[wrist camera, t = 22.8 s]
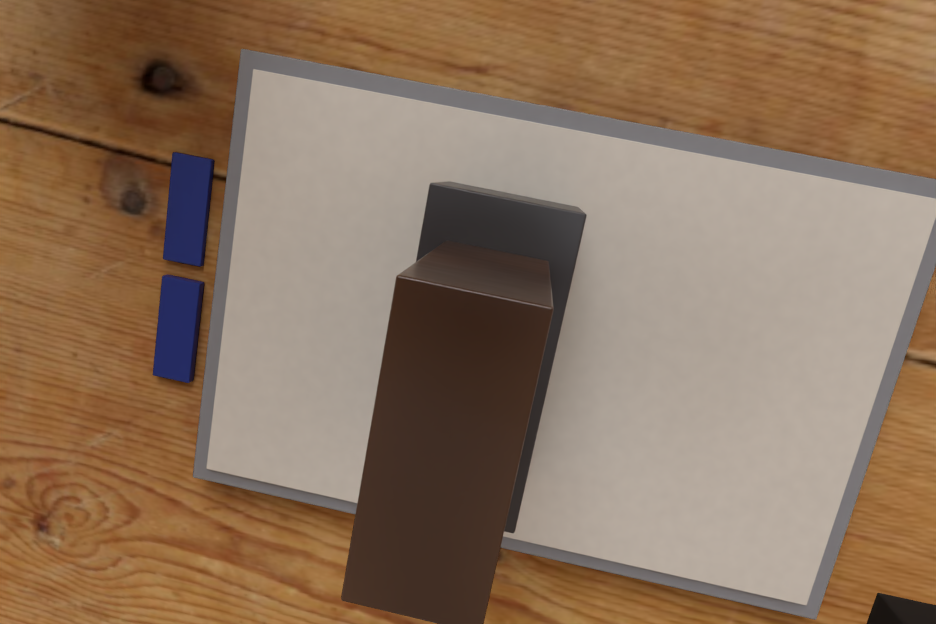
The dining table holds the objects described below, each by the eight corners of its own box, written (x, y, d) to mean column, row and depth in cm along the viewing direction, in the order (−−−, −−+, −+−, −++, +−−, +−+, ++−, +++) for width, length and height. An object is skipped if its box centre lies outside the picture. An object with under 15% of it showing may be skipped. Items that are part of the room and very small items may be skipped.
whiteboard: (204, 466, 28) (189, 479, 27) (252, 53, 24) (238, 47, 23) (806, 604, 26) (818, 623, 25) (945, 183, 23) (967, 184, 22)
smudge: (200, 283, 26) (204, 281, 26) (161, 275, 26) (167, 274, 26) (189, 383, 27) (194, 380, 27) (152, 375, 27) (157, 372, 27)
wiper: (398, 451, 25) (295, 654, 15) (447, 180, 23) (370, 186, 13) (518, 478, 25) (502, 704, 14) (579, 206, 23) (613, 235, 12)
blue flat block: (211, 159, 25) (216, 159, 25) (172, 151, 25) (177, 152, 26) (200, 266, 26) (205, 265, 26) (162, 259, 26) (167, 258, 26)
